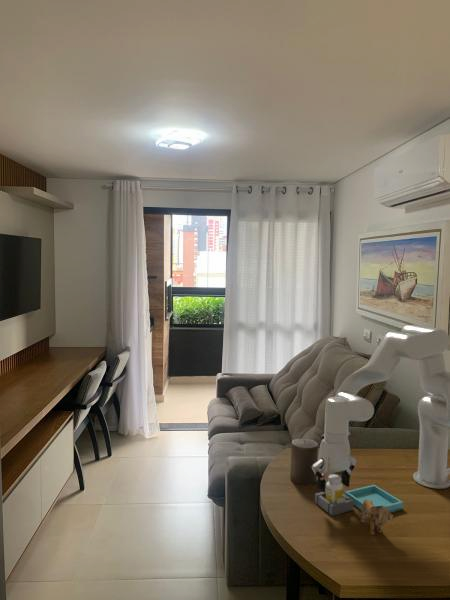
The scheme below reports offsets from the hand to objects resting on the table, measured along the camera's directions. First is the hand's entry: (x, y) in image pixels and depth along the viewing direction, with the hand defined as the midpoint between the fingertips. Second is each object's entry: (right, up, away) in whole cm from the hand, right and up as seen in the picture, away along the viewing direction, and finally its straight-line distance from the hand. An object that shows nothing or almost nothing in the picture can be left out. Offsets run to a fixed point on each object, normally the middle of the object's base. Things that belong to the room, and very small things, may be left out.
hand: (333, 487), depth 146 cm
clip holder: (0, -6, +1) cm, 6 cm away
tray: (+14, -6, +2) cm, 15 cm away
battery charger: (+7, -5, +34) cm, 35 cm away
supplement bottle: (0, -7, +1) cm, 7 cm away
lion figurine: (+9, -8, -11) cm, 16 cm away
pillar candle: (-6, -5, +20) cm, 21 cm away
